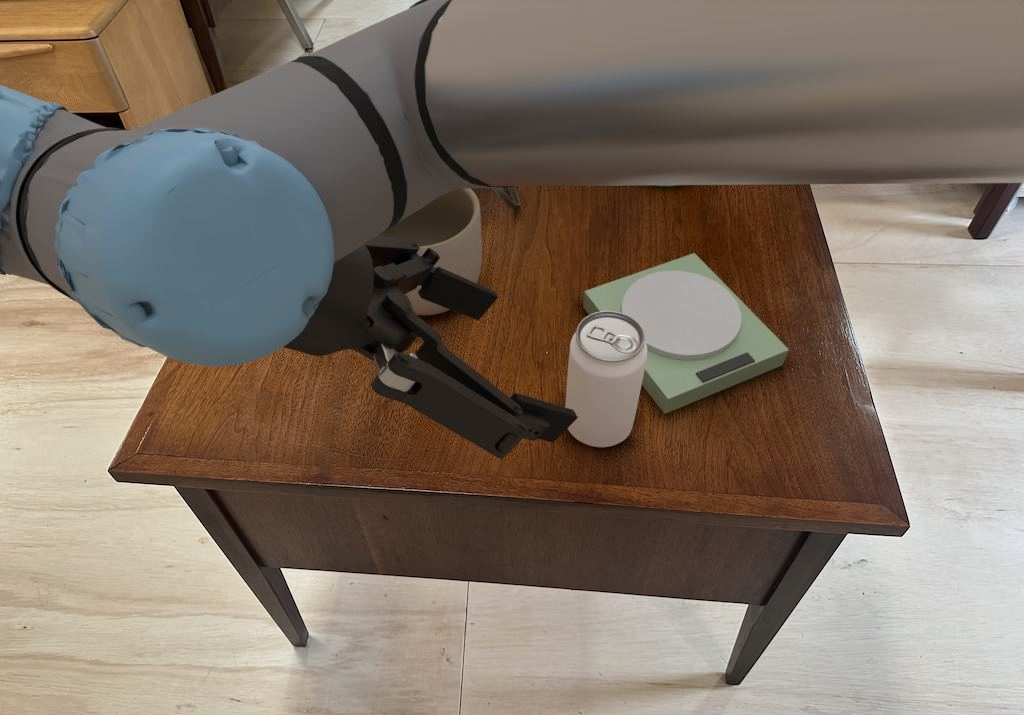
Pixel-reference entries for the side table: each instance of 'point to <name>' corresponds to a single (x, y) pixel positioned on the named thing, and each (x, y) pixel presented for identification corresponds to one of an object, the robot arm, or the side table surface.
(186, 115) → the robot arm
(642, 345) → the can
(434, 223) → the planter
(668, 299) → the scale
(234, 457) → the side table surface
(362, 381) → the side table surface
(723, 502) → the side table surface
